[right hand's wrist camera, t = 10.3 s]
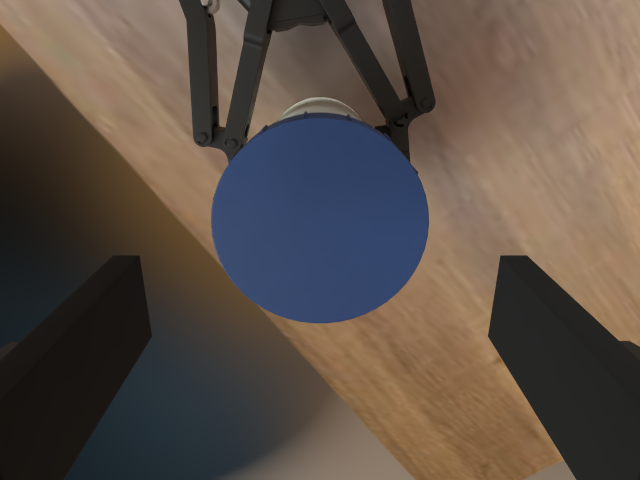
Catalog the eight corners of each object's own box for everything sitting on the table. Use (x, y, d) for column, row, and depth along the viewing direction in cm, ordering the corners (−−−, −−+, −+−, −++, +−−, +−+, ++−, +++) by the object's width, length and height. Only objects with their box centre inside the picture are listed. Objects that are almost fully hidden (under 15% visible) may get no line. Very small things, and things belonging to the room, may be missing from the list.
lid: (405, 306, 23) (412, 329, 21) (222, 295, 23) (213, 317, 21) (433, 119, 20) (445, 125, 18) (219, 104, 19) (208, 109, 17)
